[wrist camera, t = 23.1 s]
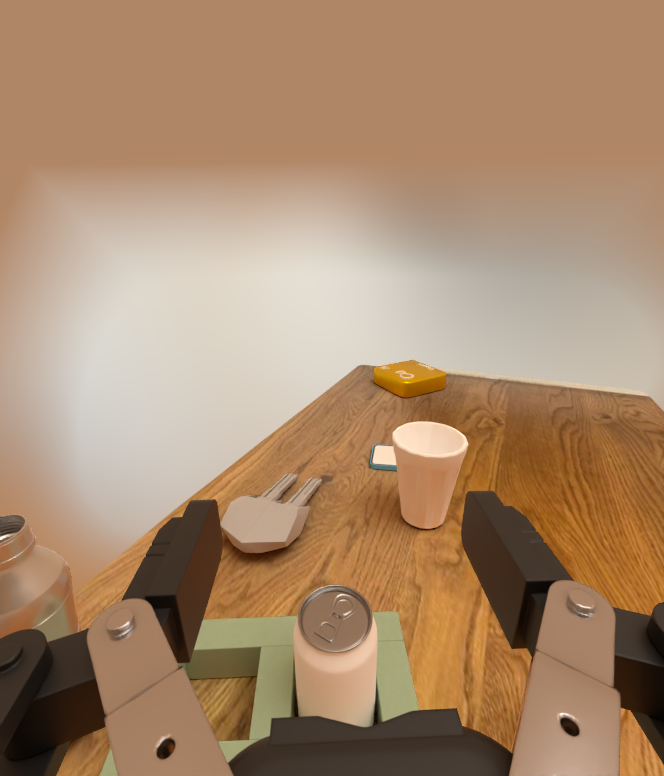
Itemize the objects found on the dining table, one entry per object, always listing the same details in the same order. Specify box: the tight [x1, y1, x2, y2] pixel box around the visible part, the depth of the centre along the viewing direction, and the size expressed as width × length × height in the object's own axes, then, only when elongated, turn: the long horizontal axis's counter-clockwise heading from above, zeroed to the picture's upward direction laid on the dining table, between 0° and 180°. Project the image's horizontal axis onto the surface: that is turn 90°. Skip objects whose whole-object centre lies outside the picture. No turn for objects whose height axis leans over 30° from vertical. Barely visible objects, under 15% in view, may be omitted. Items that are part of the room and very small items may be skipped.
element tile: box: [374, 360, 446, 398], centre depth 107 cm, size 15×15×5 cm
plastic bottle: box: [0, 514, 81, 642], centre depth 30 cm, size 6×7×20 cm
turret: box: [220, 473, 322, 553], centre depth 57 cm, size 10×20×5 cm, turn 161°
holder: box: [99, 611, 419, 776], centre depth 33 cm, size 13×23×4 cm, turn 92°
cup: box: [393, 422, 468, 529], centre depth 55 cm, size 10×10×13 cm
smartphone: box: [370, 444, 397, 471], centre depth 71 cm, size 8×1×15 cm
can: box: [293, 584, 377, 727], centre depth 31 cm, size 6×6×12 cm
